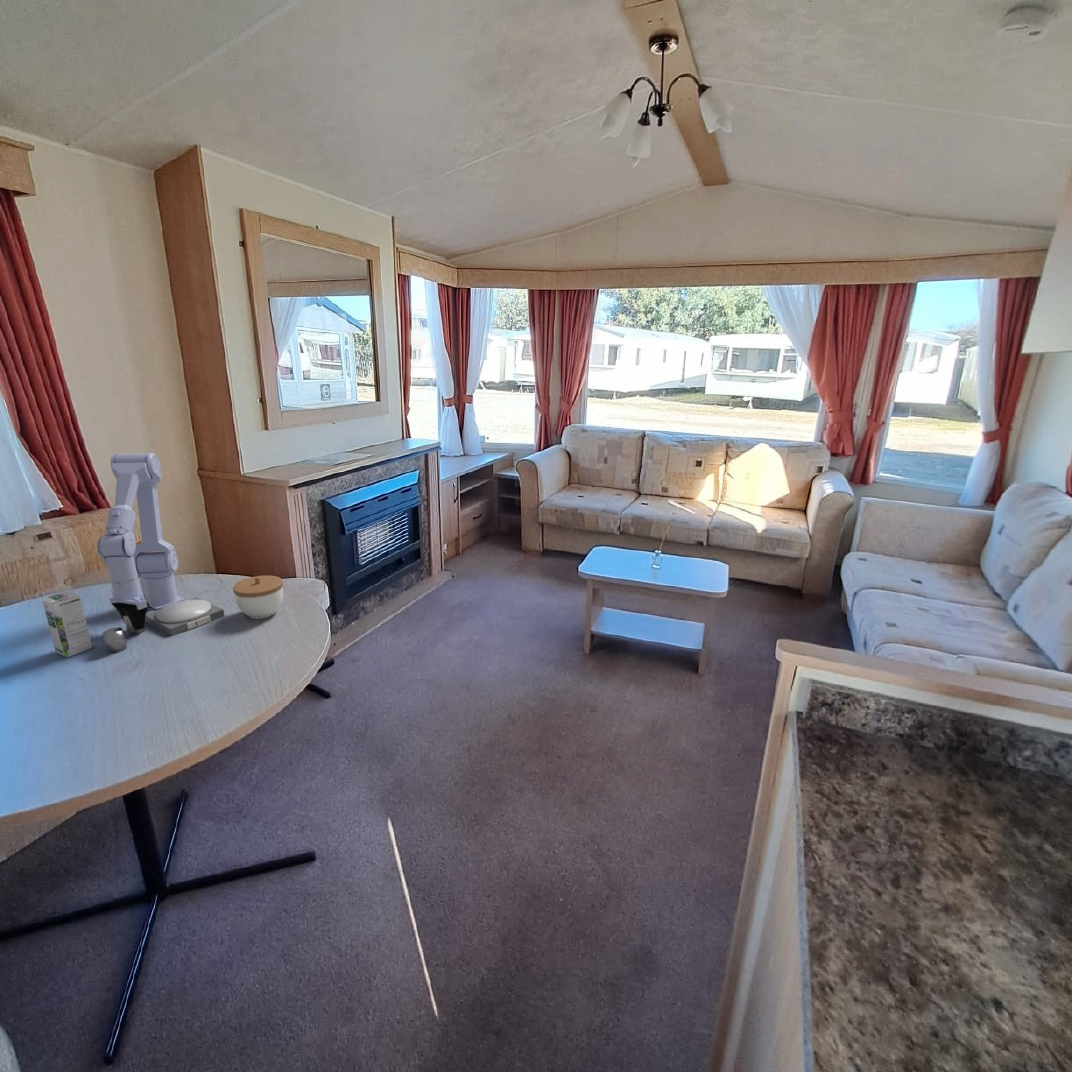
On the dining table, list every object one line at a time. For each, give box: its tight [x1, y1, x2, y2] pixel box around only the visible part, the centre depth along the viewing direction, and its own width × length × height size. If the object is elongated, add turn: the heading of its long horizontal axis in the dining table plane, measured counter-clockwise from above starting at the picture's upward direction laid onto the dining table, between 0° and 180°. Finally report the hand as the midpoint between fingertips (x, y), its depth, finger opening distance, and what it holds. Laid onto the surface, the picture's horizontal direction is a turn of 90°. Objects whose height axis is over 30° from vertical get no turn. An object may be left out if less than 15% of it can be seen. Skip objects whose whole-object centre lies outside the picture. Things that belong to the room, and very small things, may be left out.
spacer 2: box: [123, 614, 146, 636], centre depth 149 cm, size 4×4×5 cm
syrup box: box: [41, 590, 93, 658], centre depth 138 cm, size 6×6×14 cm
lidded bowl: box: [232, 575, 284, 620], centre depth 159 cm, size 13×13×11 cm
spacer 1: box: [102, 627, 128, 654], centre depth 140 cm, size 4×4×5 cm
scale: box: [145, 597, 225, 637], centre depth 156 cm, size 15×14×3 cm
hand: (135, 626), depth 149 cm, fingers closed on spacer 2, 4 cm apart
